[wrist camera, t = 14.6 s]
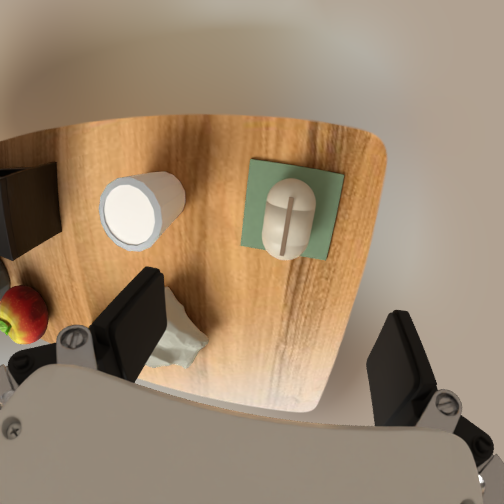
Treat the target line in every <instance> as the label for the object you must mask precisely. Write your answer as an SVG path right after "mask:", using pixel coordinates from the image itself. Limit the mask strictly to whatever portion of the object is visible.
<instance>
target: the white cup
mask: <svg viewBox="0 0 504 504" xmlns="http://www.w3.org/2000/svg"><path fill="white" fill-rule="evenodd" d="M185 202H186V201H185V191H184V189H183V186H182V184H181V182H180V181H179V180H178V179H177V178H176V177H175V176H174V175H172V174H170V173H167V172H164V171H163V172H152V173H145V174H139V175H133V176H127V177H122V178H117V179H116V180H114V181H113V182H111V183H110V184H108V185H107V186H106V188H105V190H104V191H103V193H102V195H101V198H100V204H99V213H100V219H101V224H102V226H103V228H104V230H105V232H106V234H107V235H108V236H109V238H110V239H111V240H112V241H113V242H114V243H115V244H116V245H118V246H120V247H122V248H124V249H126V250H128V251H142V250H145V249H147V248H149V247H151V246H152V245H153V244H154V243H155V241H156V240H157V239H158V238H159V237H160V236H161V235H162V233H163V232H164V231H165V230H166V229H167V228H168V227H169V226H170V225H171V223H172V222H173V221H174V220H175V219H176V218H177V217H178V216H179V214H180V213H181V212H182V211H183V208H184V205H185Z"/></svg>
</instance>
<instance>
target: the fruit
mask: <svg viewBox="0 0 504 504" xmlns="http://www.w3.org/2000/svg"><path fill="white" fill-rule="evenodd" d="M48 320H49V319H48V310H47V306H46V304H45V302H44V300H43V299H42V297H41V296H40V294H39V293H38V292H37V291H35V290H34V289H32V288H30V287H28V286H25V285H19V286H14V287H12V288H10V289H8V290H7V291H6V293H5V294H4V296H3V297H2V299H1V302H0V330H1V331H2V332H4V333H5V334H6V335H9V336H10V337H11V339H12V340H13V341H14V342H16V343H18V344H30V343H33V342H35V341H37V340H38V339H40V338H41V337H42V336H43V335H44V333H45V331H46V329H47V325H48Z"/></svg>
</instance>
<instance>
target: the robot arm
mask: <svg viewBox="0 0 504 504" xmlns="http://www.w3.org/2000/svg"><path fill="white" fill-rule="evenodd" d="M166 328H167V314H166V302H165V288H164V275H163V273H160V270H159V269H157V268H152V267H145V268H144V269H143V270H142V271H141V272H140V273H139V274H138V275H137V276H136V277H135V278H134V279H133V280H132V281H131V282H130V283H129V284H128V285H127V286H126V287H125V288H124V289H123V290H122V291H121V292H120V293H119V295H118V296H117V297H116V298H115V299H114V300H113V301H112V302H111V303H110V304H109V305H108V306H107V307H106V309H105V310H104V311H103V312H102V313H101V314H100V315H99V316H98V317H97V318H96V320H95V321H94V322H93V323H92V325H91V326H90V327H89V328H87V327H85V326H83V325H71V326H68V327H66V328H64V329H63V330H62V331H61V332H60V333H59V334H58V336H57V340H56V343H52V344H48V345H43V346H39V347H34V348H30V349H25V350H21V351H18V352H16V353H15V354H13V356H12V357H11V358H10V360H9V362H8V366H6V367H5V365H4V364H3V365H1V366H0V504H504V463H503V461H502V460H501V459H500V457H499V456H498V455H497V454H495V455H493V450H494V445H493V442H492V439H491V438H490V436H489V435H488V434H486V433H485V432H484V431H482V430H481V429H480V428H478V427H477V426H475V425H474V424H473V423H471V422H470V421H469V420H467V419H466V418H464V417H463V416H462V415H461V412H462V403H461V401H460V399H459V397H458V396H457V395H456V394H455V393H453V392H452V391H450V390H445V389H441V390H437V386H436V385H437V383H436V380H435V377H434V374H433V372H432V369H431V366H430V363H429V361H428V358H427V355H426V353H425V350H424V348H423V345H422V343H421V340H420V338H419V336H418V333H417V331H416V328H415V326H414V324H413V322H412V319H411V317H410V315H409V313H408V312H407V311H401V310H394V311H393V313H389V315H388V317H387V319H386V321H385V323H384V326H383V328H382V330H381V332H380V334H379V337H378V339H377V341H376V343H375V345H374V347H373V349H372V351H371V353H370V355H369V357H368V359H367V363H366V367H367V373H368V379H369V385H370V392H371V399H372V406H373V414H374V421H375V426H350V425H349V426H348V425H332V424H319V423H309V422H300V421H292V420H284V419H277V418H271V417H264V416H258V415H253V414H247V413H242V412H237V411H232V410H227V409H223V408H219V407H214V406H210V405H206V404H202V403H198V402H194V401H190V400H187V399H183V398H180V397H176V396H173V395H170V394H166V393H163V392H160V391H157V390H153V389H151V388H147V387H144V386H141V385H138V384H135V381H136V379H137V377H138V376H139V374H140V372H141V371H142V369H143V367H144V366H145V364H146V362H147V361H148V359H149V357H150V356H151V354H152V352H153V351H154V349H155V347H156V346H157V344H158V342H159V341H160V339H161V337H162V336H163V334H164V333H165V331H166Z"/></svg>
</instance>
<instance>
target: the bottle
mask: <svg viewBox="0 0 504 504" xmlns="http://www.w3.org/2000/svg"><path fill="white" fill-rule="evenodd" d="M8 289H10V280H9V277H8V274H7V271H6V268H5V267H4V265H3V264H2V262H1V260H0V301H1V299H2V297H3V296H4V294H5V293H6V291H7V290H8Z"/></svg>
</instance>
